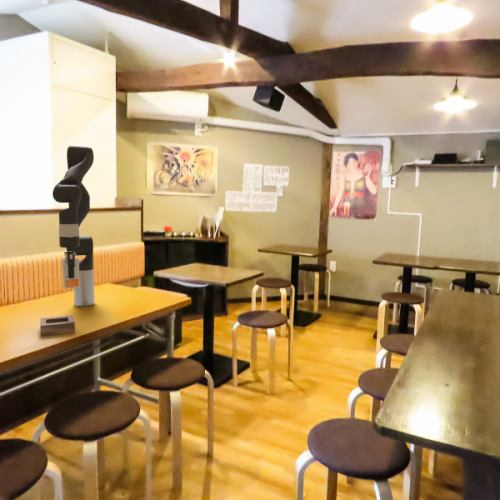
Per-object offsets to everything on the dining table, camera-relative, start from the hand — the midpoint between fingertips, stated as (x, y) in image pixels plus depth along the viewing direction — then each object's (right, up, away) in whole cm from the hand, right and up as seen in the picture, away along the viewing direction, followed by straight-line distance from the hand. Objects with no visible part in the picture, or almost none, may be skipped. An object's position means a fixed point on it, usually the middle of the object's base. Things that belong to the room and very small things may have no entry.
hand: (71, 277), depth 177 cm
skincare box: (0, -4, +1) cm, 5 cm away
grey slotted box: (-3, -21, -5) cm, 22 cm away
